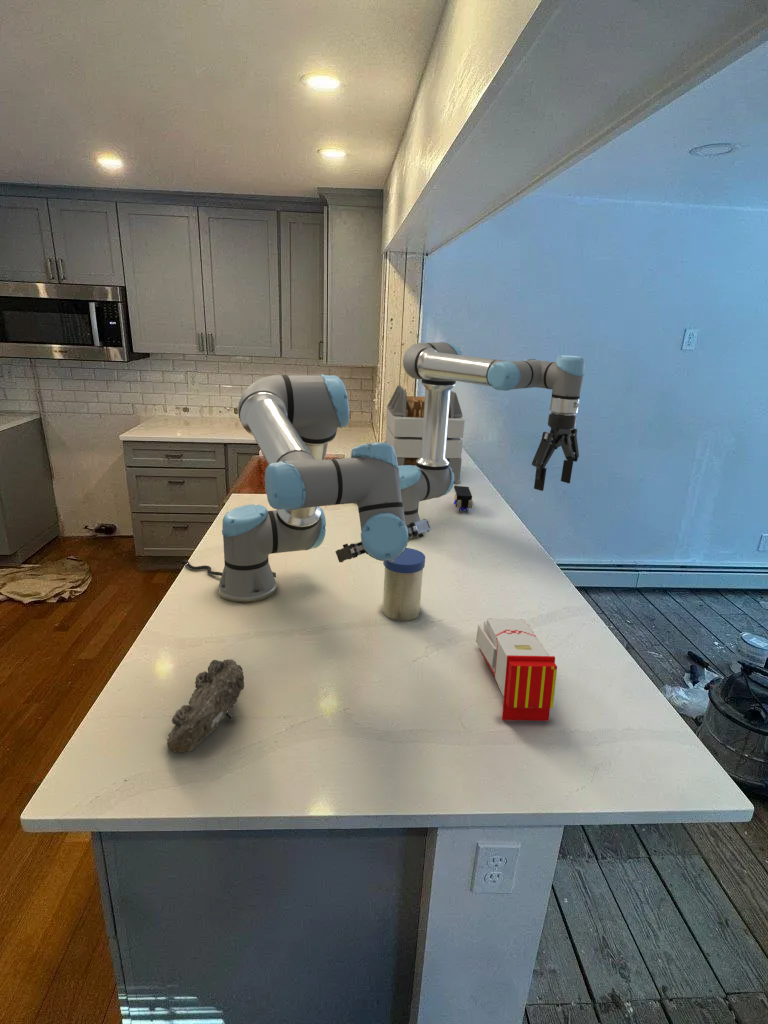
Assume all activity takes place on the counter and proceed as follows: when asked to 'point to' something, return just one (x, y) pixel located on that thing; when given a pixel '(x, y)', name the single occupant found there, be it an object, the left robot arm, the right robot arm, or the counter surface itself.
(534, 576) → the counter surface
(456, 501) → the figurine character
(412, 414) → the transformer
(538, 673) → the toy
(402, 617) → the jar
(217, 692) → the fossil
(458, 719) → the counter surface
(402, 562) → the lid
